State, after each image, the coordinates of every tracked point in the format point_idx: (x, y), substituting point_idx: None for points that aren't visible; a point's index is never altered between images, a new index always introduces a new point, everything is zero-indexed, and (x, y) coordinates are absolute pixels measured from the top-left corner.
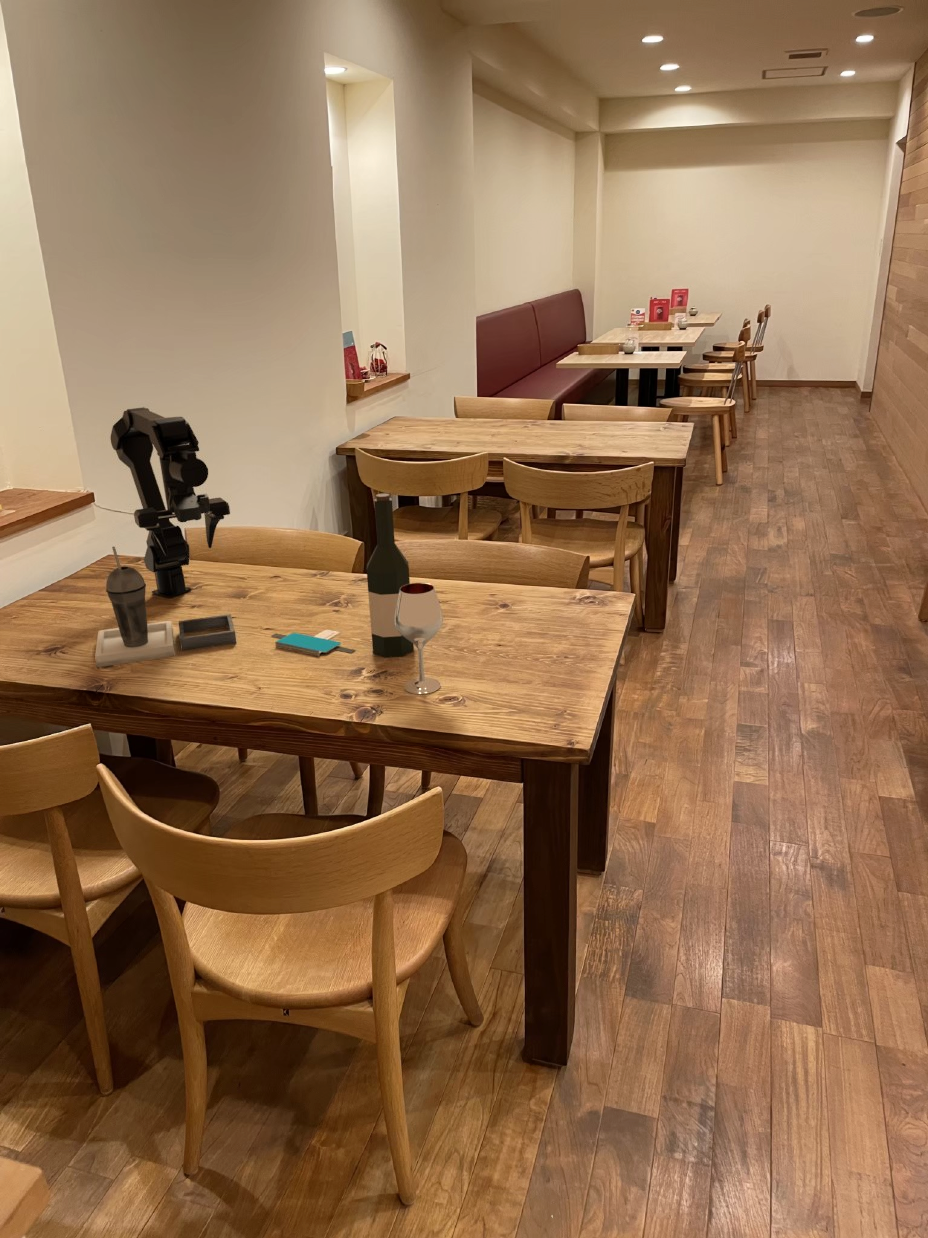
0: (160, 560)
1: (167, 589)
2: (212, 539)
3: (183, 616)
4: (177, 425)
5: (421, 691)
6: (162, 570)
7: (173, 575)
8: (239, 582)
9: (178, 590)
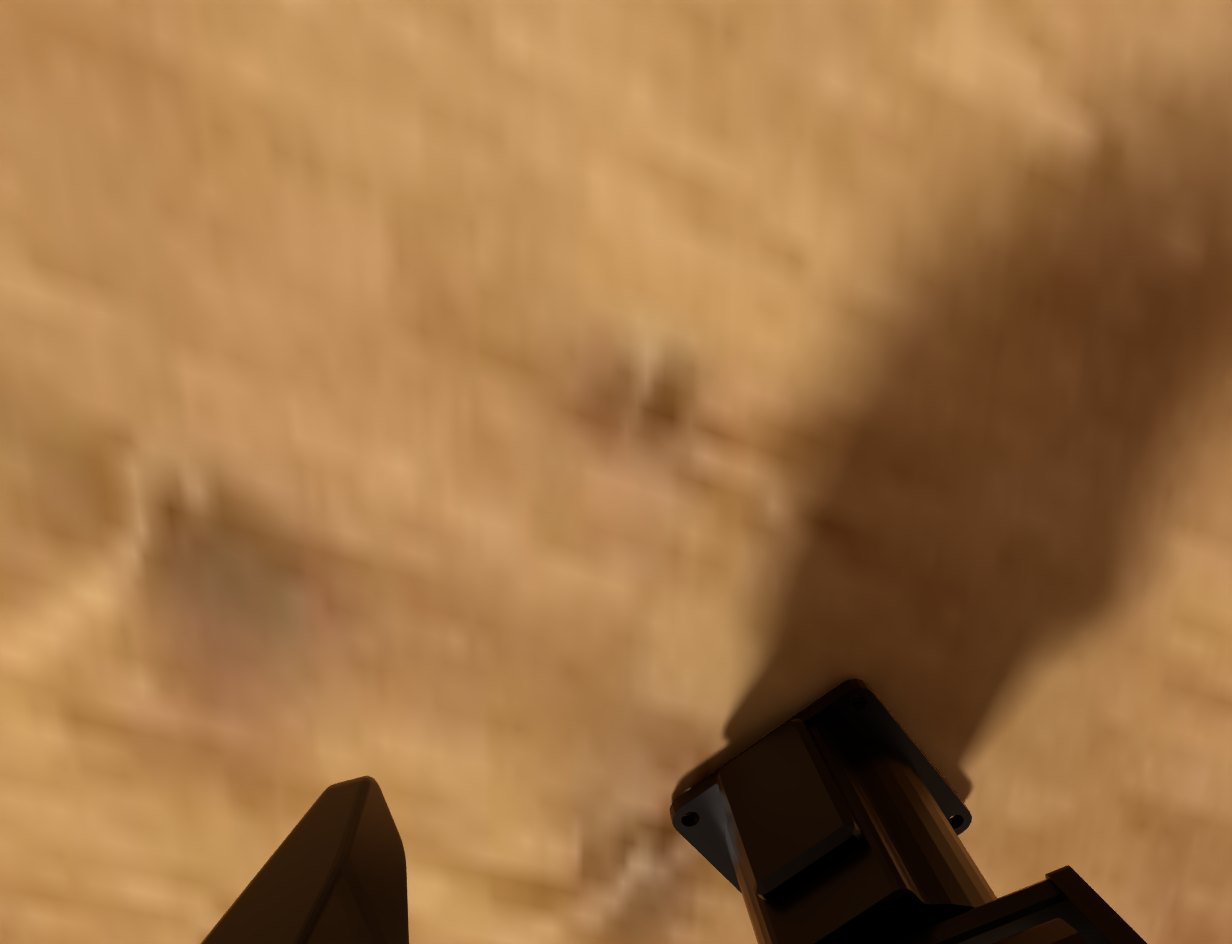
0: (1079, 936)
1: (875, 762)
2: (216, 940)
3: (772, 154)
4: None
5: None
6: (974, 907)
7: (855, 853)
8: None
9: (784, 742)
